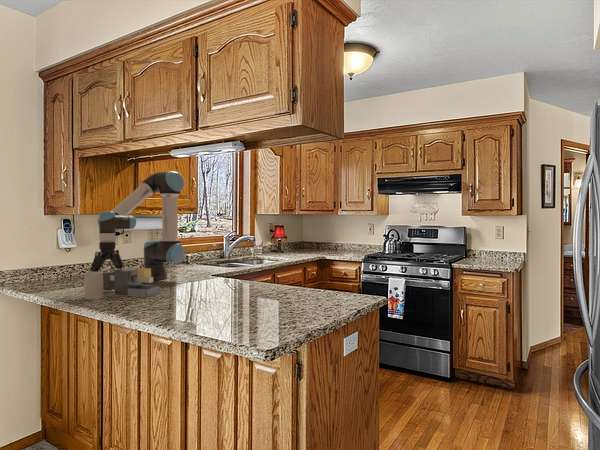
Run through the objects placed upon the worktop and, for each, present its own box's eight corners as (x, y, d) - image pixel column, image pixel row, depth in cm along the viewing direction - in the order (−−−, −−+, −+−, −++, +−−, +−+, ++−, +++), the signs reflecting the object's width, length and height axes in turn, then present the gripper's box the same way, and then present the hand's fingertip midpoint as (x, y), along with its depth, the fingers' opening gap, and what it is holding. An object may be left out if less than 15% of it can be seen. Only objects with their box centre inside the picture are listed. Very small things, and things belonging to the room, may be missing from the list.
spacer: (144, 275, 214) (144, 268, 214) (151, 276, 213) (151, 268, 212) (137, 277, 209) (137, 269, 209) (144, 277, 208) (144, 269, 208)
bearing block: (128, 290, 220) (128, 267, 220) (141, 291, 218) (141, 268, 217) (114, 294, 211) (114, 270, 210) (127, 295, 208) (127, 271, 208)
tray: (141, 291, 218) (141, 285, 218) (159, 293, 214) (159, 286, 214) (127, 295, 208) (127, 288, 208) (146, 297, 205) (146, 289, 205)
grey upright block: (102, 298, 201) (102, 273, 201) (83, 300, 198) (83, 274, 198) (103, 295, 209) (103, 271, 208) (85, 296, 206) (85, 272, 205)
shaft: (107, 288, 221) (106, 271, 221) (154, 292, 212) (153, 274, 211) (101, 290, 217) (101, 272, 217) (148, 293, 208) (148, 275, 208)
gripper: (118, 239, 230) (119, 278, 231) (82, 242, 207) (82, 286, 207) (130, 240, 228) (130, 279, 228) (94, 243, 204) (94, 287, 205)
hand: (107, 282), depth 218 cm, fingers open, 13 cm apart
